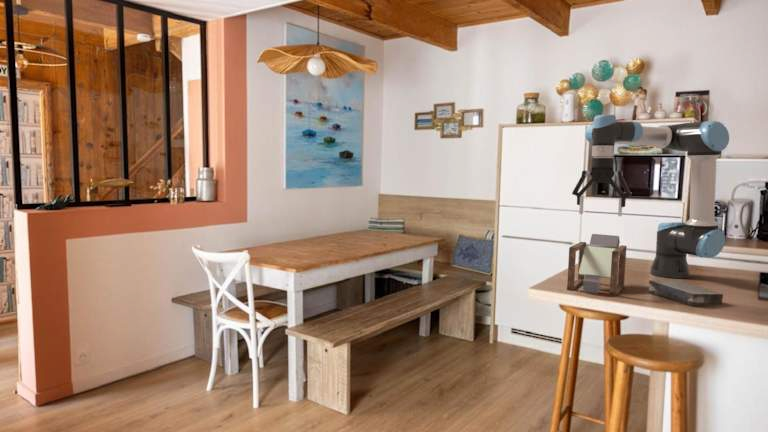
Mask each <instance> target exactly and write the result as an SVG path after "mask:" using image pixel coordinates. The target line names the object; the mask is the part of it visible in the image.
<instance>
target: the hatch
mask: <svg viewBox="0 0 768 432" xmlns="http://www.w3.org/2000/svg"><path fill="white" fill-rule="evenodd" d="M619 246H620V236H619V235H611V234H601V233H600V234H599V233H598V234H597V233H592V234H591V237H590V240H589V243H586V245H585V249H584V253H583V257H582V261H581V265H580V269H579V273H577V275H578V274H579V275H584V276H585V275H586V274H590V275H599V276H600V279H603V278H604V279H610V278H611V262H612V251H614V250H615V249H617V248H618V247H619Z"/></svg>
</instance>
